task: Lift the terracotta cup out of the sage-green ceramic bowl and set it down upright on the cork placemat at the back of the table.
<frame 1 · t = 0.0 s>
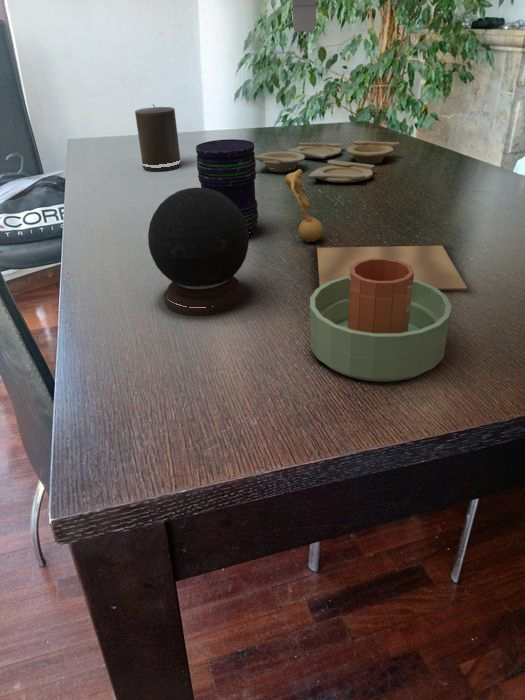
hand: (304, 29, 50), 32 cm above the table, tool pointing down, fingers open, 8 cm apart
pillar candle: (162, 167, 146), on the table
black ball on stand: (204, 298, 79), on the table
placemat: (385, 268, 85), on the table
tableware set: (327, 166, 140), on the table
storage jar: (231, 233, 101), on the table
bowl: (375, 348, 66), on the table
figurine: (304, 242, 96), on the table
cup: (376, 342, 65), point 1 cm above the table, touching bowl
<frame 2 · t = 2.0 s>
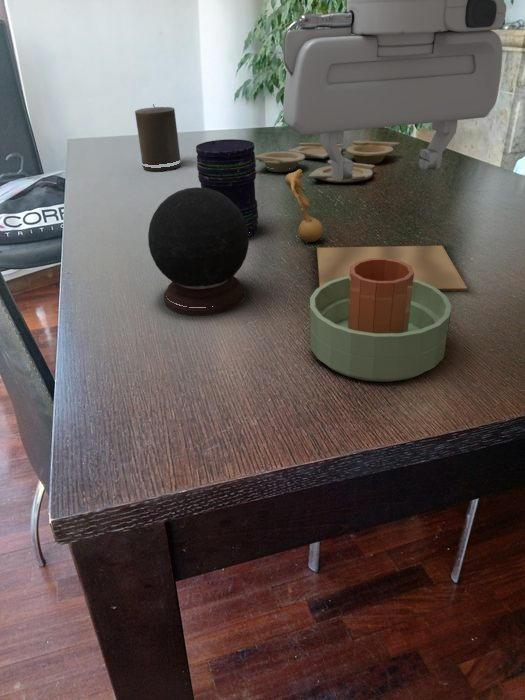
hand: (386, 174, 56), 20 cm above the table, tool pointing down, fingers open, 8 cm apart
nothing on the table moved.
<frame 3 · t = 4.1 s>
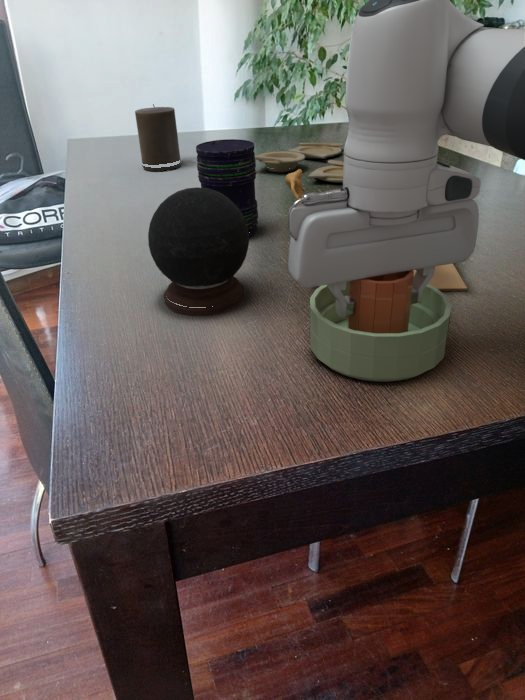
hand: (378, 308, 63), 5 cm above the table, tool pointing down, fingers closed on cup, 7 cm apart
cup: (376, 342, 65), point 1 cm above the table, touching bowl, gripper
everything else where it was.
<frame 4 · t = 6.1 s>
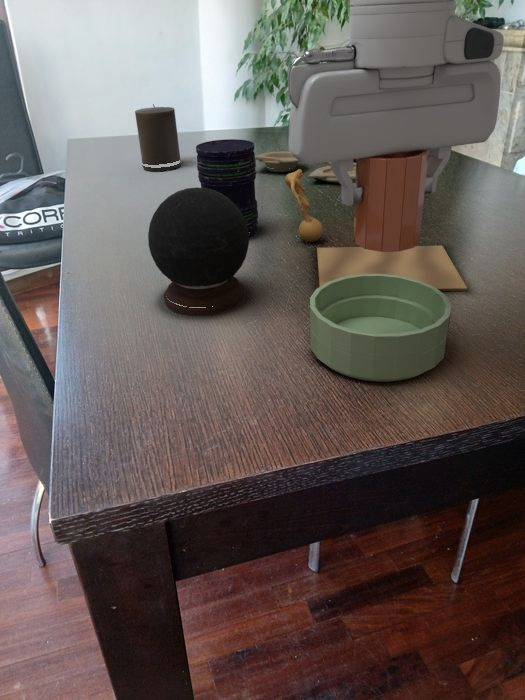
hand: (389, 198, 57), 17 cm above the table, tool pointing down, fingers closed on cup, 7 cm apart
cup: (386, 240, 59), point 13 cm above the table, touching gripper
everything else where it was.
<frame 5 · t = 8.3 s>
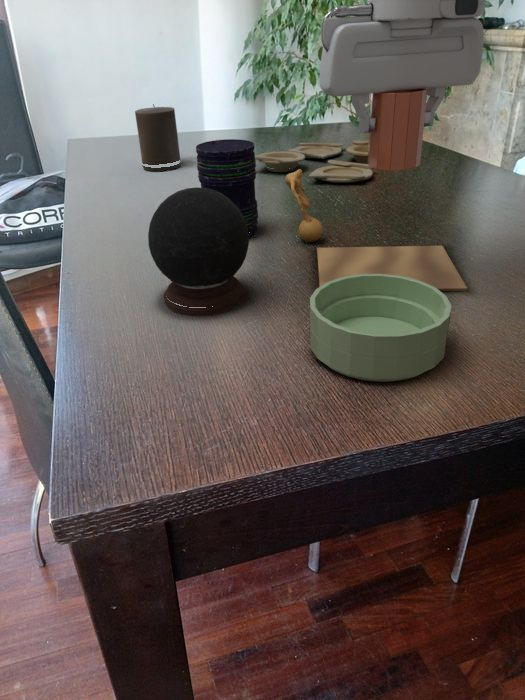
hand: (396, 129, 73), 20 cm above the table, tool pointing down, fingers closed on cup, 7 cm apart
cup: (393, 164, 75), point 16 cm above the table, touching gripper
everything else where it was.
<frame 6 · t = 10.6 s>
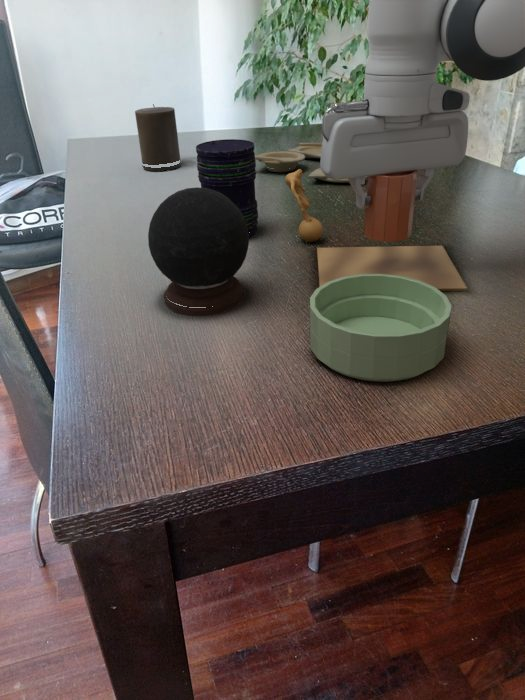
hand: (389, 203, 80), 10 cm above the table, tool pointing down, fingers closed on cup, 7 cm apart
cup: (387, 233, 82), point 5 cm above the table, touching gripper
everything else where it was.
when the fingers open (5 cm above the table, at t = 12.5 s): cup stays where it is, resting on placemat.
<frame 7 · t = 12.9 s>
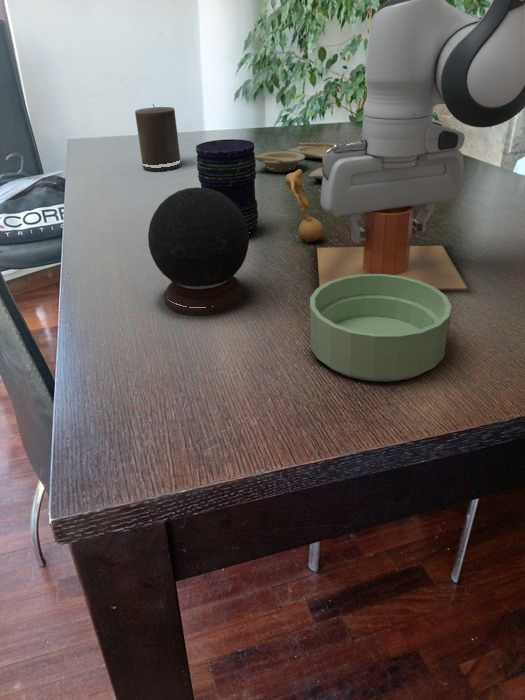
hand: (388, 236, 83), 5 cm above the table, tool pointing down, fingers open, 8 cm apart
cup: (384, 266, 85), resting on placemat
everything else where it was.
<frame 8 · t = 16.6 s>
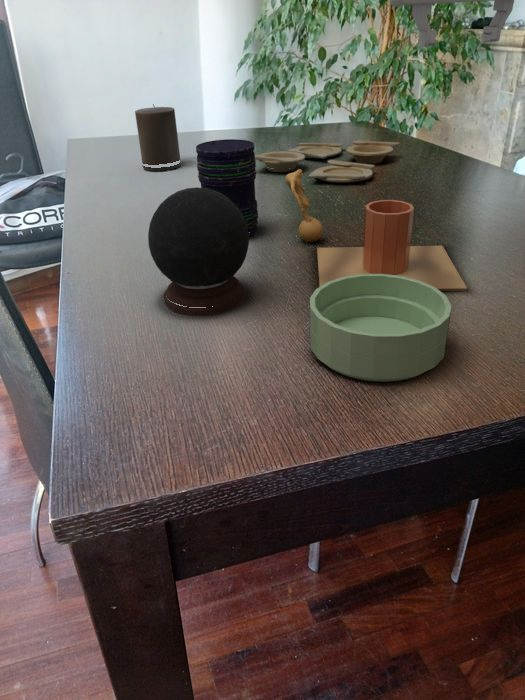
hand: (458, 44, 74), 29 cm above the table, tool pointing down, fingers open, 8 cm apart
nothing on the table moved.
at the end: cup inside the target area on the placemat (0.1 cm from its centre), point 0.4 cm above the placemat's base; cup tilted 0° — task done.
